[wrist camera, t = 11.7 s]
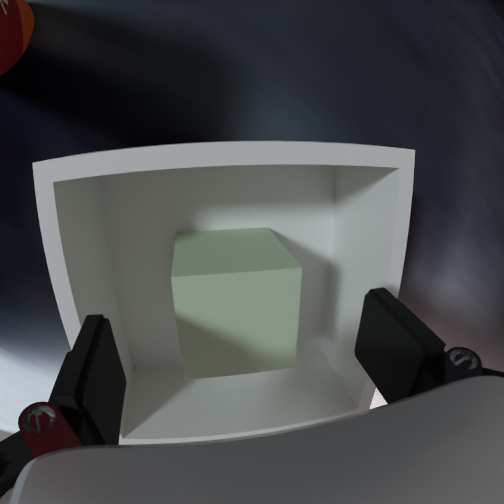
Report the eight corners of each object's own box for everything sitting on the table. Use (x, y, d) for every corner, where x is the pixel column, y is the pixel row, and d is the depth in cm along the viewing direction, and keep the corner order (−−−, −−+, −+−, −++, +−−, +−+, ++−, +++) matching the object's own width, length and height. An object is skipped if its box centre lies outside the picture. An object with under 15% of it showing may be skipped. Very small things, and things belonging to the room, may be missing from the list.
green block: (176, 232, 17) (171, 277, 12) (267, 227, 18) (302, 267, 13) (183, 313, 19) (184, 379, 13) (266, 306, 20) (294, 367, 14)
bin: (88, 152, 16) (32, 162, 9) (342, 142, 18) (415, 150, 12) (126, 370, 21) (112, 446, 14) (326, 350, 23) (367, 414, 17)
